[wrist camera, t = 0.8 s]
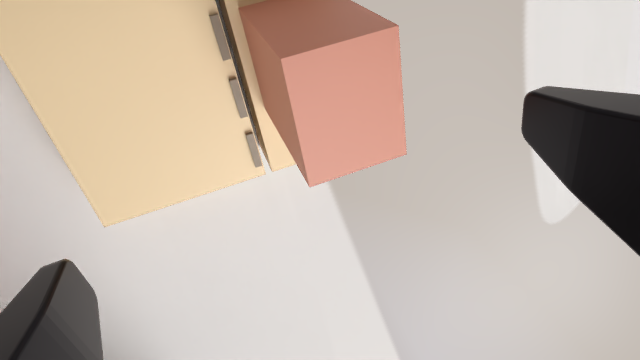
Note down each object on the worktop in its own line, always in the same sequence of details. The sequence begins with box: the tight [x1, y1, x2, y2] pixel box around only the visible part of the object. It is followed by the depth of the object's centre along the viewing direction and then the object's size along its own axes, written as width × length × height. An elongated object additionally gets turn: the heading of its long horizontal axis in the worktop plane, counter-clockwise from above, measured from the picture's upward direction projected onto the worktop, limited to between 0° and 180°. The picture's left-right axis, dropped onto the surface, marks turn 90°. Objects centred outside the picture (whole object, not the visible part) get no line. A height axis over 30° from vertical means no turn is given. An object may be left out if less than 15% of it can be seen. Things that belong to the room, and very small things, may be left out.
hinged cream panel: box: [0, 0, 266, 227], centre depth 17 cm, size 10×7×3 cm
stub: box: [219, 0, 407, 187], centre depth 16 cm, size 10×4×8 cm, turn 10°
